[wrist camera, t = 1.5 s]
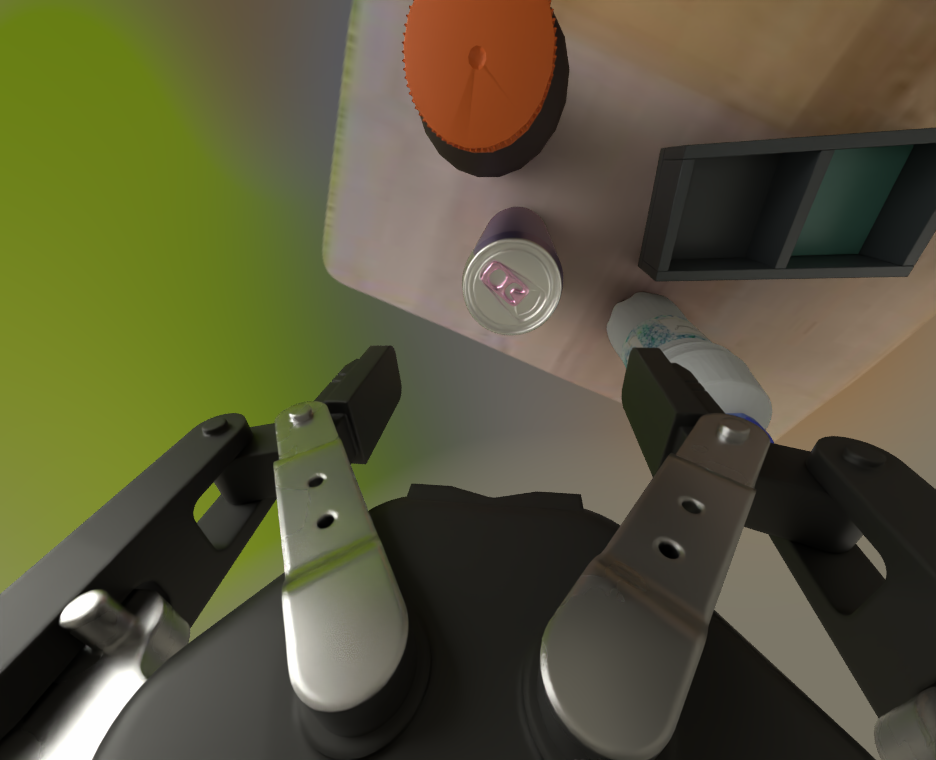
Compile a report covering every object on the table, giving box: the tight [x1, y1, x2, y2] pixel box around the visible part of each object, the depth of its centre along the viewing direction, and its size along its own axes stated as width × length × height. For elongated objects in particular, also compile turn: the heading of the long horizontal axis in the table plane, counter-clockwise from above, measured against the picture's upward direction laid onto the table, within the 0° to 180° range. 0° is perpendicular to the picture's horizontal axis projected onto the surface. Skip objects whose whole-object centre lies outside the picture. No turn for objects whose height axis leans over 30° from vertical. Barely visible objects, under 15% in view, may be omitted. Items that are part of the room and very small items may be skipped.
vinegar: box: [402, 0, 569, 177], centre depth 19 cm, size 7×7×20 cm
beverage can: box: [462, 207, 563, 335], centre depth 26 cm, size 6×6×15 cm
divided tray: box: [638, 128, 936, 281], centre depth 26 cm, size 9×17×5 cm, turn 93°
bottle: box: [607, 292, 774, 443], centre depth 26 cm, size 7×7×20 cm
